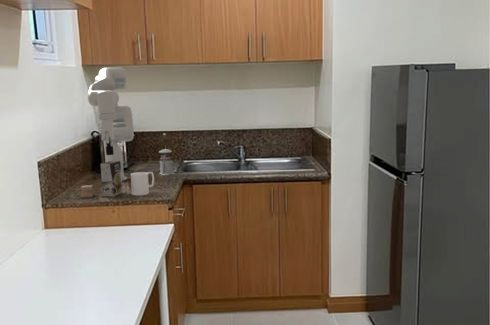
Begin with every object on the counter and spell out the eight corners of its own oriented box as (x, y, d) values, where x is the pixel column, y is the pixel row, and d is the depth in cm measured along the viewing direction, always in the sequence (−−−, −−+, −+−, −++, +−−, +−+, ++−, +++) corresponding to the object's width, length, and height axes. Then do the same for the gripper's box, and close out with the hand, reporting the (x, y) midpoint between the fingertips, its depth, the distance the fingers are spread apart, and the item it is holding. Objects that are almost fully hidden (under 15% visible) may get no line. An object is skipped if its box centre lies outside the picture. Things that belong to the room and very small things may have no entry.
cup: (158, 192, 233) (157, 172, 231) (136, 196, 225) (135, 175, 224) (151, 190, 239) (149, 170, 237) (129, 193, 231) (127, 173, 230)
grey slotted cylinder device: (177, 172, 292) (174, 132, 289) (170, 175, 281) (168, 133, 277) (161, 172, 294) (159, 132, 290) (155, 175, 283) (152, 134, 279)
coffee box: (114, 196, 225) (112, 163, 223) (102, 196, 227) (99, 163, 224) (123, 192, 234) (120, 160, 232) (111, 192, 236) (108, 160, 233)
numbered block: (83, 195, 231) (82, 185, 230) (93, 195, 232) (92, 184, 231) (81, 197, 226) (80, 187, 225) (92, 197, 227) (91, 186, 226)
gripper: (101, 116, 232) (103, 153, 235) (96, 118, 217) (99, 157, 220) (116, 115, 233) (119, 152, 236) (113, 117, 219) (116, 156, 221)
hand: (110, 154), depth 228 cm, fingers closed
